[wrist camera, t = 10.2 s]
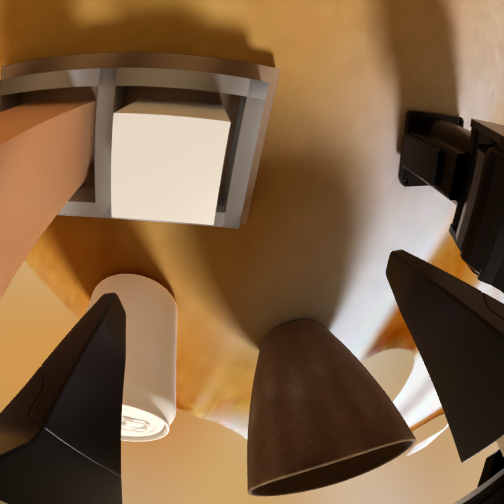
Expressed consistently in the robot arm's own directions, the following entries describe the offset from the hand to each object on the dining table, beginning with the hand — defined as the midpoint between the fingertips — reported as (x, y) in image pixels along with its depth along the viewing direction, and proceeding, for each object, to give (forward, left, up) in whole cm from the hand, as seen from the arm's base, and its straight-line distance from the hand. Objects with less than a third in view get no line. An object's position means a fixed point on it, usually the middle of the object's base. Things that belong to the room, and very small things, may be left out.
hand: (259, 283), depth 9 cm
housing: (+7, -3, -13) cm, 15 cm away
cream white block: (+3, -2, -12) cm, 12 cm away
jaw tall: (+11, -4, -12) cm, 17 cm away
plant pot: (-5, +21, -13) cm, 25 cm away
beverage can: (+10, +12, -13) cm, 20 cm away
